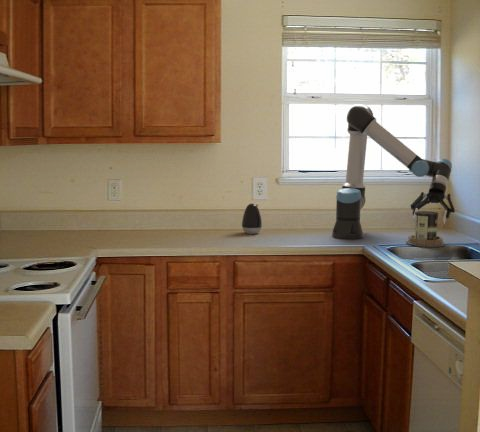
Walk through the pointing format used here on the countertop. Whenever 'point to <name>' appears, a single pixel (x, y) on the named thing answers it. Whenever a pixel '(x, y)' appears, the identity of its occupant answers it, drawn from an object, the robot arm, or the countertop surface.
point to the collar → (425, 242)
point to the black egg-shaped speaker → (252, 219)
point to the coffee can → (426, 225)
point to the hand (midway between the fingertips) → (428, 221)
